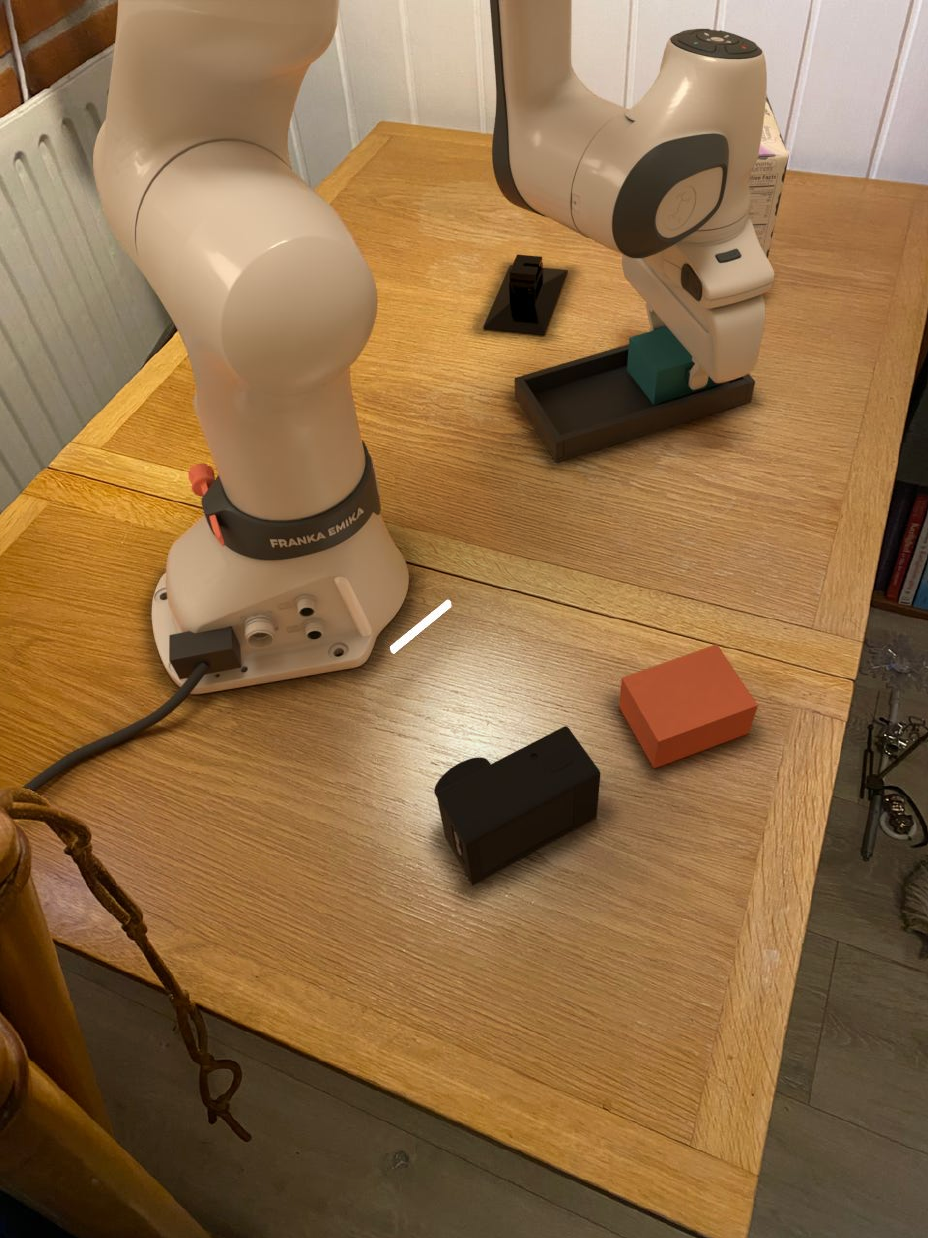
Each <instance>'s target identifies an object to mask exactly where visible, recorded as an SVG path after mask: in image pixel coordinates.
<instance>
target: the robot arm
mask: <svg viewBox="0 0 928 1238" xmlns="http://www.w3.org/2000/svg"><path fill="white" fill-rule="evenodd" d="M572 5H573V1H572V0H489V7H490V8H489V9H490V21H491V35H492V48H493V49H492V51H493V62H494V64H493V65H494V75H495V76H494V77H495V116H494V124H493V132H492V144H491V162H492V168H493V174H494V178H495V181H496V184H497V187H498V188H499V191H500V192H501V194H502V195H503V197H504V198H505V199H506V200H507V201H508V202H509V203H511V204H512V205H514V206H516V207H517V208H520V209H524V210H526V211H529V212H532V213H534V214H537V215H539V216H541V217H545V218H548V219H550V220H552V221H554V222H556V223H558V224H560V225H562V226H564V227H566V228H567V229H569V230H571V231H573V232H575V233H576V234H579V235H580V236H583V237H584V238H586V239H590V240H592V241H593V242H595V243H598V244H600V245H602V246H603V247H606V248H608V249H609V250H611V251H614V252H615V253H618V254H621V255H622V257H621V267H622V271H623V276H624V278H625V280H626V281H627V282H628V283H629V284H630V285H631V286H632V288H633V289H634V290H635V291H636V293H638V295H639V296H640V297H641V298H642V299H643V301H644V303H645V310H646V314H647V319H648V323H649V326H650V329H649V331H653V330H656V329H660V328H663V327H666V326H667V327H668V328H669V330H670V331H671V332H672V333H673V334H674V335H675V337H676V338H677V339H678V340H679V341H680V343H681V344H682V345H683V346H684V347H685V348H686V350H687V351H688V352H689V353H690V354H691V355H692V361H693V362H694V363H695V365H694V366H691V367H688V368H686V370H685V378H684V380H685V382H686V383H687V384H688V386H689V387H690V388H691V389H692V390H696V389H699V388H702V387H704V386H706V384H707V383H708V376H709V377H710V378H711V379H712V380H713V381H714V382H715V383H723V382H727V381H731V380H734V379H737V378H740V377H743V376H745V375H747V374H750V373H751V372H752V371H754V369H755V367H756V366H757V362H758V359H759V354H760V349H761V346H762V340H763V334H764V330H765V324H766V303H765V299H764V296H763V294H766V293H768V292H771V290H772V289H773V287H774V282H775V269H774V268H773V266H772V264H771V262H770V260H769V258H768V259H767V257H766V255H765V253H764V251H763V250H762V248H761V246H760V243H759V241H758V239H757V236H756V234H755V230H754V227H753V224H752V222H751V220H750V219H748V215H749V209H750V202H751V196H750V188H749V180H750V175H751V172H752V169H753V168H754V165H755V163H756V161H757V158H758V155H759V150H760V144H761V137H762V130H763V123H764V115H765V105H766V93H767V88H768V87H767V85H768V75H767V62H766V57H765V53H764V51H763V49H762V48H761V47H760V46H758V45H757V43H756V42H754V41H753V40H750V39H749V38H746V37H743V36H740V35H738V34H735V33H731V32H729V31H725V30H721V29H720V30H717V29H710V28H693V29H691V28H690V29H685V30H682V31H680V32H678V33H675V34H673V35H671V36H670V37H669V38H668V40H667V42H666V45H665V48H664V51H663V54H662V58H661V63H660V68H659V72H658V74H657V77H656V78H655V80H654V82H653V83H652V84H651V87H649V89H648V91H646V93H645V94H644V95H643V97H642V98H641V99H640V100H639V101H638V102H637V103H636V104H635V105H633V106H632V107H631V108H627V107H625V106H622V105H621V104H620V105H619V104H617V103H615V102H613V101H610V100H608V99H606V98H603V97H601V96H599V95H597V94H595V93H594V92H593V91H592V90H590V89H589V87H587V86H586V85H585V84H584V82H583V81H582V80H581V79H580V77H579V76H578V75H577V73H576V72H575V70H574V67H573V62H572V29H573V27H572V25H573V24H572V20H573V19H572V17H573V15H572V12H573V11H572V8H573V7H572ZM339 9H340V0H117V18H116V29H115V30H116V31H115V39H114V49H113V57H112V65H111V73H110V80H109V85H108V86H109V87H108V95H107V103H106V104H107V105H106V112H105V119H104V121H103V123H102V125H101V126H100V129H99V131H98V133H97V135H96V139H95V143H94V147H93V152H92V153H93V154H92V168H93V175H94V181H95V185H96V189H97V193H98V197H99V201H100V203H101V207H102V210H103V213H104V216H105V218H106V221H107V224H108V226H109V228H110V230H111V232H112V235H113V236H114V237H115V239H116V240H117V242H118V243H119V244H120V246H121V247H122V249H123V250H124V251H125V253H126V254H127V255H128V257H129V258H130V259H131V260H132V262H133V263H134V265H136V267H137V268H138V270H139V272H141V274H142V275H143V277H144V278H145V279H146V281H147V283H148V284H149V286H150V287H151V289H152V290H153V292H154V293H155V294H156V296H157V297H158V299H159V301H160V302H161V304H162V306H163V307H164V309H165V311H166V312H167V314H168V316H169V317H170V319H171V320H172V322H173V324H174V326H175V328H176V330H177V332H178V334H179V336H180V339H181V341H182V343H183V346H184V348H185V350H186V354H187V357H188V360H189V362H190V366H191V370H192V373H193V379H194V386H195V392H194V394H193V411H194V414H195V417H196V420H197V421H198V425H199V427H200V429H201V433H202V435H203V437H204V441H205V444H206V445H207V448H208V450H209V454H210V456H211V458H212V461H213V464H214V467H215V469H216V473H217V476H216V475H215V471H214V468H213V467H212V466H211V465H208V464H207V463H197V464H194V465H193V466H191V467H190V468H189V471H188V472H187V475H188V480H189V482H190V484H191V491H192V493H193V494H194V495H196V496H198V497H200V498H201V497H202V498H201V507H202V510H203V515H202V516H201V517H199V519H198V520H196V521H195V522H194V523H193V524H192V525H191V526H190V527H188V529H187V530H185V532H183V533H182V534H181V535H180V536H179V537H177V538H176V539H175V541H174V542H173V543H172V545H171V547H170V549H169V551H168V554H167V559H166V565H165V572H164V573H163V574H162V576H161V577H160V579H159V581H158V583H157V585H156V587H155V590H154V593H153V596H152V601H151V624H152V632H153V637H154V641H155V646H156V648H157V652H158V655H159V657H160V659H161V662H162V665H163V667H164V668H165V670H166V672H167V674H168V676H169V677H170V678H171V680H172V681H173V682H174V683H175V684H176V685H177V686H178V687H179V688H178V690H177V691H176V692H174V694H173V695H172V696H171V697H170V698H169V699H168V700H167V701H165V703H163V704H162V705H161V706H159V707H158V708H157V709H155V710H154V711H153V712H151V713H150V714H148V715H146V716H145V717H143V718H141V719H139V720H136V721H135V722H133V723H132V724H130V725H128V726H125V727H124V728H122V729H119V730H117V731H115V732H113V733H111V734H108V735H106V736H103V737H101V738H99V739H96V740H95V741H93V742H91V743H88V744H86V745H84V746H83V745H82V746H81V747H79V748H76V749H74V750H73V751H71V752H69V753H67V754H66V755H65V756H63V757H62V758H60V759H58V760H57V761H56V762H54V763H53V764H52V765H50V766H49V767H48V768H46V769H45V770H43V771H42V772H40V773H39V774H38V775H36V776H35V777H33V778H32V779H31V780H30V781H29V782H27V783H26V784H24V785H23V786H22V787H21V788H25V789H30V790H32V791H34V793H36V792H37V791H38V790H40V789H41V788H43V787H44V786H45V785H46V784H47V783H49V782H50V781H52V780H53V779H55V778H56V777H57V776H58V775H60V774H62V773H63V772H64V771H66V770H67V769H69V767H71V766H73V765H75V764H76V763H77V762H80V761H82V760H84V759H86V758H88V757H90V756H93V755H95V754H97V753H100V752H102V751H103V750H107V749H108V748H110V747H112V746H115V745H117V744H119V743H122V742H124V741H126V740H128V739H130V738H133V737H135V736H136V735H138V734H140V733H142V732H144V731H146V730H147V729H149V728H152V727H153V726H155V725H157V724H158V723H160V722H161V721H163V720H164V719H165V718H167V717H168V716H169V715H170V714H171V713H173V712H174V711H175V710H176V709H177V708H178V707H180V705H181V704H182V703H183V702H184V701H185V700H186V699H187V698H188V697H189V695H202V694H209V693H215V692H219V691H221V692H222V691H226V690H232V689H238V688H244V687H250V686H255V685H261V684H267V683H268V684H269V683H274V682H278V681H279V682H280V681H285V680H291V679H296V678H303V677H308V676H314V675H319V674H321V675H322V674H326V673H332V672H338V671H344V670H350V669H355V668H359V667H361V666H362V665H364V664H365V663H366V662H367V661H368V659H369V658H370V657H371V654H372V652H373V649H374V646H375V644H376V641H377V638H378V636H379V635H380V633H381V632H382V631H383V630H384V629H385V628H386V627H387V626H388V624H389V623H390V622H391V621H392V620H393V619H394V618H395V617H396V616H397V614H398V613H399V611H400V610H401V608H402V606H403V604H404V601H405V600H406V597H407V594H408V590H409V584H410V574H409V567H408V564H407V562H406V561H407V560H406V559H405V557H404V555H403V553H402V552H401V550H400V549H399V548H398V547H397V545H396V544H395V542H394V540H393V539H392V536H391V535H390V533H389V530H388V528H387V525H386V524H385V521H384V519H383V516H382V513H381V512H382V506H381V499H380V498H381V491H380V486H379V485H380V484H379V480H378V476H377V470H376V467H375V462H374V459H373V457H372V455H371V454H370V452H369V450H368V447H367V445H366V443H365V441H364V440H363V439H362V434H361V430H360V424H359V419H358V414H357V410H356V409H357V408H356V405H355V400H354V395H353V394H354V393H353V389H352V382H351V366H352V365H353V364H354V363H355V362H356V361H357V359H358V358H359V356H360V355H361V354H362V353H363V351H364V350H365V348H366V346H367V344H368V342H369V340H370V338H371V335H372V333H373V330H374V327H375V323H376V319H377V315H378V314H377V313H378V304H379V301H378V289H377V285H376V281H375V277H374V274H373V272H372V270H371V268H370V266H369V264H368V261H367V260H366V259H365V256H364V254H363V253H362V251H361V248H360V247H359V245H358V243H357V241H356V240H355V238H354V237H353V235H352V233H351V231H350V230H349V228H348V226H347V225H346V223H345V221H344V220H343V219H342V217H341V215H340V214H339V213H338V212H337V211H336V209H335V208H334V207H333V206H332V205H331V204H330V203H329V202H328V201H327V200H325V199H324V197H323V196H321V195H320V194H319V193H318V192H317V191H315V189H314V188H313V187H311V186H310V185H309V184H308V183H307V182H306V181H305V180H304V179H302V178H301V176H299V174H297V172H295V171H294V169H293V167H292V163H291V158H290V151H289V145H288V144H289V143H288V141H289V139H288V138H289V130H290V124H291V121H292V116H293V113H294V109H295V106H296V103H297V99H298V95H299V92H300V90H301V86H302V84H303V81H304V79H305V76H306V74H307V71H308V70H309V68H310V66H311V65H312V63H314V62H315V61H317V60H318V59H319V58H321V56H323V55H324V54H325V52H326V51H327V50H328V49H329V47H330V45H331V43H332V41H333V39H334V37H335V35H336V34H335V33H336V30H337V27H338V21H339V20H338V19H339ZM451 607H452V602H451V601H450V600H449V599H447V600H445V601H444V602H443V603H442V604H441V605H439V606H438V607H437V608H436V609H435V610H433V611H431V613H430V614H428V615H427V616H426V617H425V618H423V619H422V620H421V621H420V622H419V623H417V624H416V625H415V626H414V627H412V628H411V629H410V630H408V632H407V633H405V634H403V636H401V637H400V638H399V639H398V640H396V641H395V642H394V643H393V644H391V646H389V648H390V652H391V653H392V654H396V653H397V652H398V651H399V650H400V649H401V648H403V647H404V646H405V645H406V644H408V643H409V642H410V641H411V640H413V639H414V638H415V637H416V636H417V635H418V634H420V633H421V632H422V631H423V630H424V629H426V628H427V627H429V626H430V625H431V624H432V623H434V621H436V620H437V619H438V618H440V616H441V615H443V614H444V613H445V612H446V611H448V610H449V609H450V608H451ZM339 654H342V655H340V656H337V655H339Z"/></svg>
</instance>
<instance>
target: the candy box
mask: <svg viewBox="0 0 928 1238" xmlns="http://www.w3.org/2000/svg"><path fill="white" fill-rule="evenodd" d="M789 158H790V151H789V150H788V149H787V147H786V145H785V141H784V139H783V135H782V133H781V130H780V127H779V125H778V122H777V119H776V115H775V113H774V110H773V107H772V105H771V103H770V99H769V97H768V93H767V92H766V105H765V115H764V123H763V130H762V137H761V144H760V150H759V155H758V158H757V161H756V163H755V165H754V168H753V169H752V172H751V175H750V180H749V188H750V196H751V202H750V209H749V215H748V219H750V220H751V222H752V224H753V227H754V230H755V234H756V236H757V239H758V241H759V243H760V246H761V248H762V250H763V251H764V253H765V255H766V257H767V259H768V260H769V256H770V255H769V254H770V250H771V245H772V241H773V235H774V231H775V227H776V226H775V225H776V220H777V217H778V211H779V207H780V203H781V197H782V193H783V188H784V183H785V179H786V173H787V169H788V163H789Z"/></svg>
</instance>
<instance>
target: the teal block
mask: <svg viewBox="0 0 928 1238" xmlns="http://www.w3.org/2000/svg"><path fill="white" fill-rule="evenodd" d="M628 344H629V349H628V363H627V371H628V372H629V373H630V375H631V376H632V377H633V379H634V380H635V381H636V383H637V384H638V385H639V386H640V388H641V389H642V390H643V392H644V393H645V394H646V396H647V397H648V398H649V399H650V401H651V402H652V403H653V405H655V404H659V403H662V402H665V401H668V400H671V399H675V398H678V397H681V396H684V395H688V394H691V393H694V392H697V391H701V390H704V389H707V388H710V387H714V386H717V385H720V384H723V383H726V382H723V383H715V382H714V381H713V380H712V379H711V378H710V377H709V376H708V383H707V384H706V386H704V387H702V388H699V389H696V390H692V389H691V388H690V387H689V386H688V384H687V383H686V382H685V380H684V378H685V370H686V368H688V367H691V366H694V365H695V363H694V362H693V361H692V355H691V354H690V353H689V352H688V351H687V350H686V348H685V347H684V346H683V345H682V344H681V343H680V341H679V340H678V339H677V338H676V337H675V335H674V334H673V333H672V332H671V331H670V330H669V328H668V327H667V326H666V327H663V328H660V329H656V330H653V331H650V330H649V331H646V332H643V333H639V334H636V335H633V336H629V338H628Z"/></svg>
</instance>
